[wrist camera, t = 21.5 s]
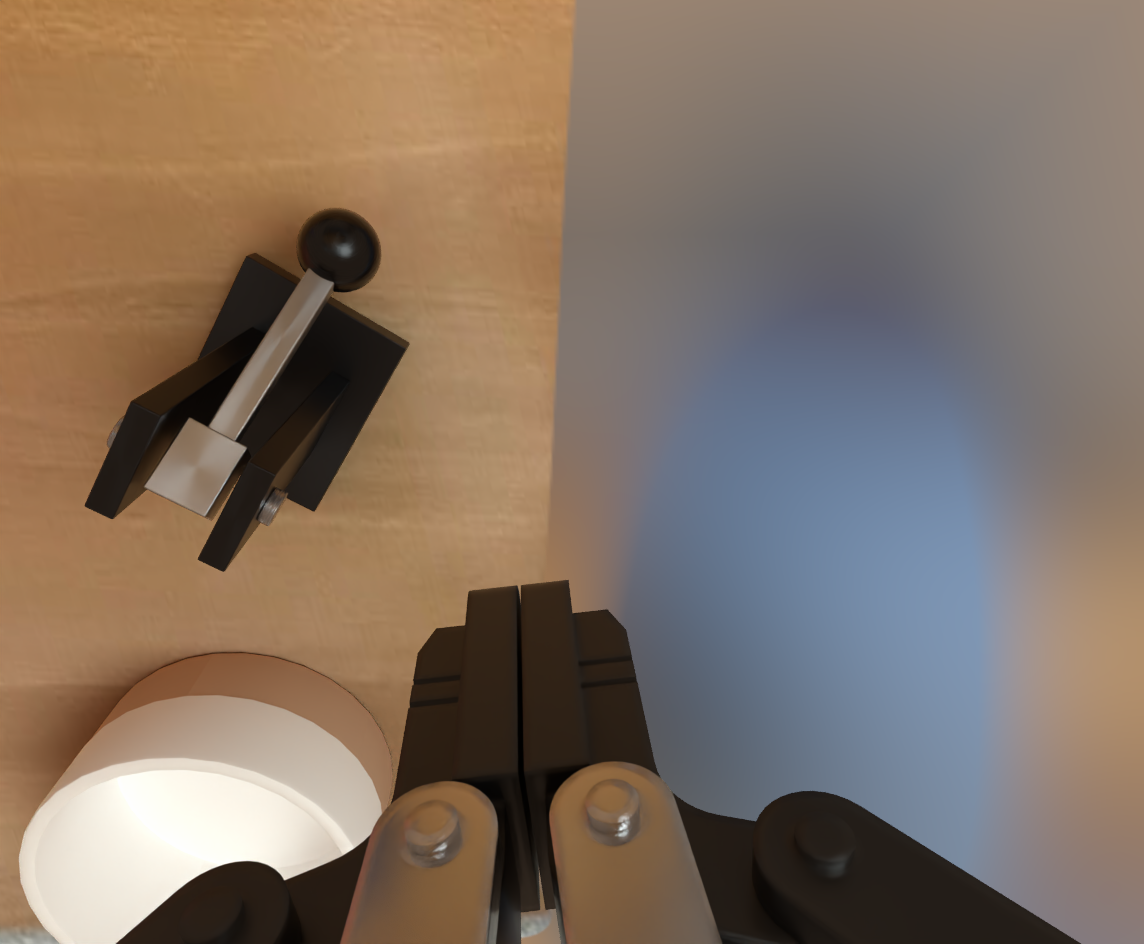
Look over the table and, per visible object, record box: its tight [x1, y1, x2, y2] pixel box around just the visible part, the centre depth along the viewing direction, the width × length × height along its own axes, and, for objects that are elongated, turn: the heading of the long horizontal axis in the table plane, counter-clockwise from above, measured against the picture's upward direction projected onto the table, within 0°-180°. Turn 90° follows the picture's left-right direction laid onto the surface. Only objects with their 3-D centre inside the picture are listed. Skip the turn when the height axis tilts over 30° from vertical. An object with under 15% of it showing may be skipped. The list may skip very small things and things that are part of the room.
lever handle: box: [144, 208, 381, 521], centre depth 29 cm, size 13×3×3 cm
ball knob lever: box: [85, 253, 410, 572], centre depth 32 cm, size 10×8×13 cm
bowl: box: [19, 653, 393, 944], centre depth 43 cm, size 17×17×8 cm
